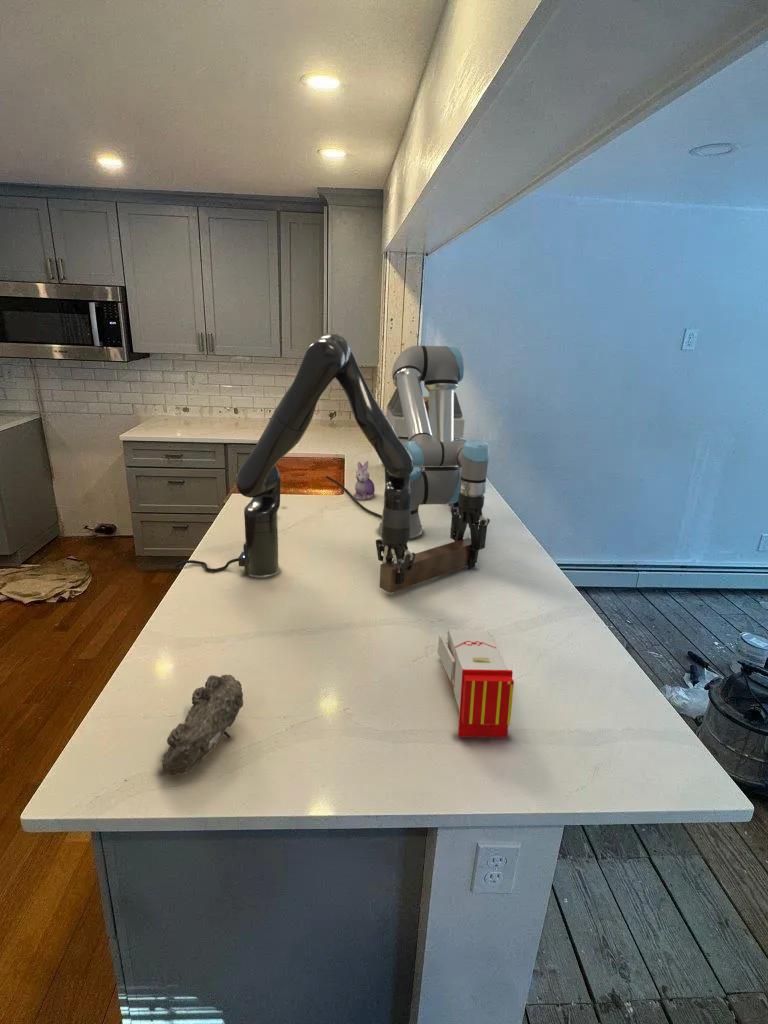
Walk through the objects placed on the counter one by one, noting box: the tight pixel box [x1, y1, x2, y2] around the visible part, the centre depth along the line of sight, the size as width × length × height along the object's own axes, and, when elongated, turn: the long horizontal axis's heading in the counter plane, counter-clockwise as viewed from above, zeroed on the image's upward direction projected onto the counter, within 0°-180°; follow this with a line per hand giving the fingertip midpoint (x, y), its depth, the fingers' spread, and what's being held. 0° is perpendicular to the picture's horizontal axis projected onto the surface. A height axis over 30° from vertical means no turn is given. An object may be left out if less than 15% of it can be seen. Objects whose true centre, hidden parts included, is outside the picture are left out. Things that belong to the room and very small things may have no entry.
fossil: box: [161, 674, 244, 776], centre depth 102 cm, size 22×10×15 cm
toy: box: [437, 628, 515, 738], centre depth 117 cm, size 12×13×30 cm
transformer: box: [385, 387, 465, 471], centre depth 268 cm, size 34×33×41 cm
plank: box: [379, 537, 478, 594], centre depth 165 cm, size 36×4×7 cm, turn 131°
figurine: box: [354, 460, 376, 501], centre depth 234 cm, size 9×10×15 cm
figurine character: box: [447, 501, 459, 510], centre depth 229 cm, size 7×8×15 cm
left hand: (393, 580), depth 156 cm, fingers closed on plank, 4 cm apart
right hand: (464, 565), depth 176 cm, fingers closed on plank, 4 cm apart
